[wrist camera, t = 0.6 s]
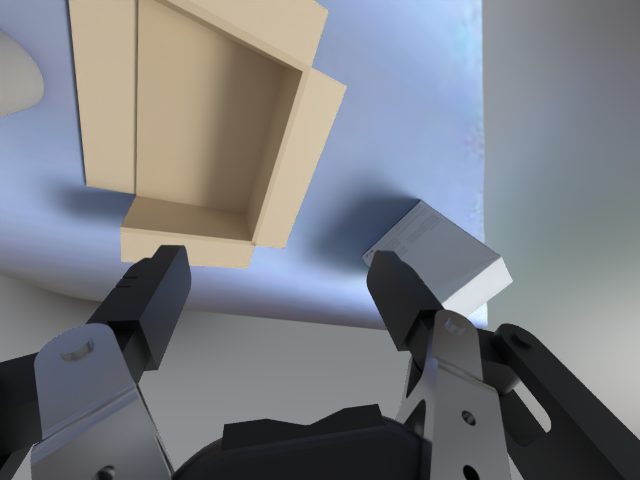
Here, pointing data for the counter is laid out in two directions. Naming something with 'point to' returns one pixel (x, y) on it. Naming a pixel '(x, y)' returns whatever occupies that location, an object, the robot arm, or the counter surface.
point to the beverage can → (17, 77)
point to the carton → (203, 118)
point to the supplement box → (445, 259)
